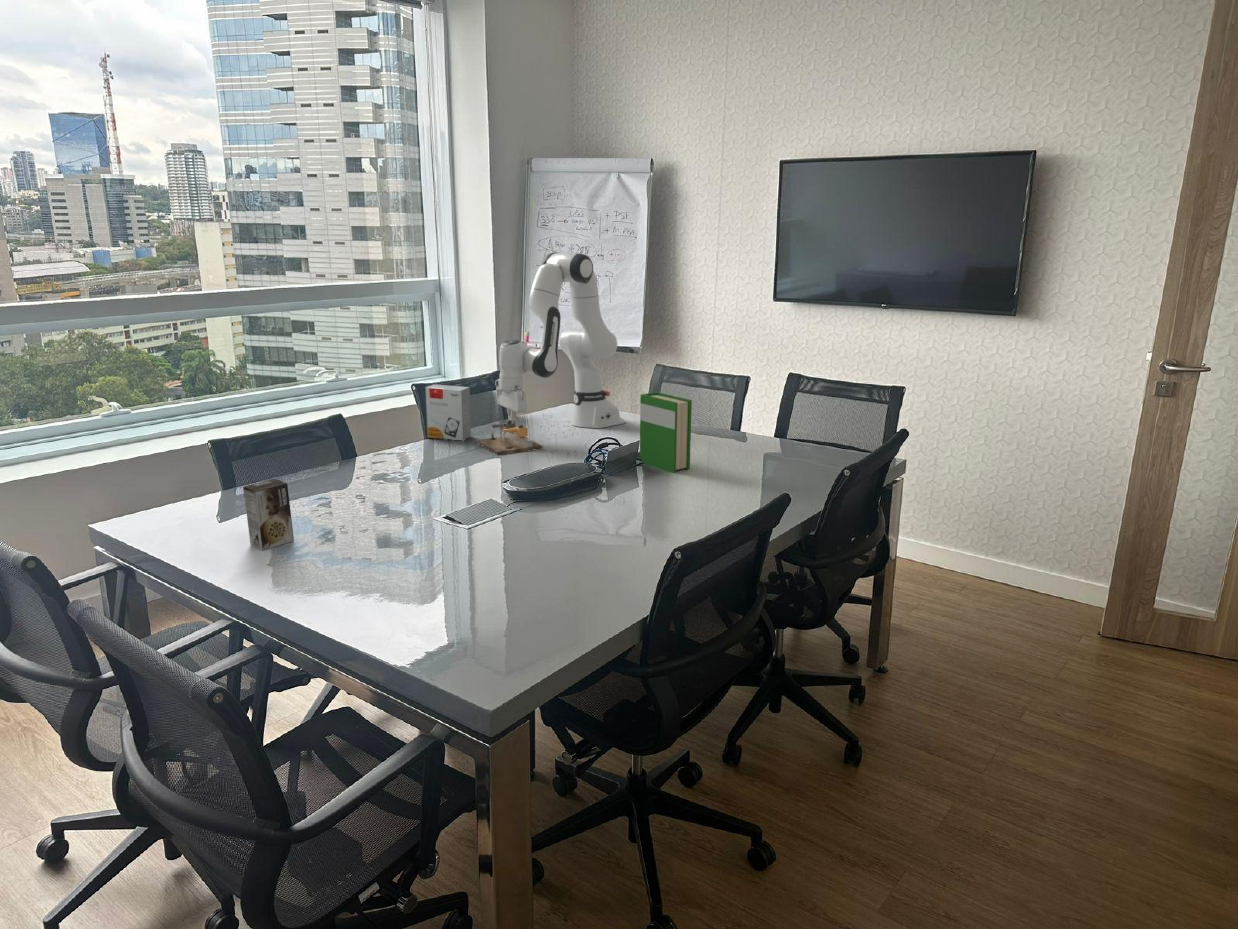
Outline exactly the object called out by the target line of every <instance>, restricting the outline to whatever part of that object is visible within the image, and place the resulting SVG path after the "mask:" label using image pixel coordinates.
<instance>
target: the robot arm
mask: <svg viewBox="0 0 1238 929" xmlns="http://www.w3.org/2000/svg"><path fill="white" fill-rule="evenodd" d="M563 283H569V285H570V287H569V288H570V289H569V290H570V291H569V292H570V302H571V313H572V316H573V318H574V319H575V320H576V321H577V322H579V324H580V325H581V326H582V328H569V329H565V330H563V332H562V333H561V335H560V331H561V330H560V329H561V321H562V320H561V313H560V312H561V311H560V310H559V302H560V297H561V293H562V292H561V291H562V285H563ZM599 297H600V296H599V288H598V281H597V276H596V273H595V271H594V264H593V262H592V259H591V258H590V257H589V256H588V255H586V254H583V253H575V252H573V251H571V252H569V251H568V252H567V251H566V252H556V251H555V252H551V253H548V254H546V255H545V257H544V259H543V260H542V262H541V264H540V266H539V267H538V268H537V271H536V273H535V275H534V279H533V281H532V284H531V288H530V292H529V298H528V306H529V308H530V311H531V312H532V313H533V314H534V315H535V316H536V317H537V318H539V319H540V320H541V322H542V325H543V332H542V340H541V347H540V349H539V348H534V347H532V346H528V345H525V344H524V343H522V342H521V340H519V339H509V340H506V341H503V342H501V344H500V347H499V354H498V355H499V356H498V361H499V362H498V364H499V368H500V370H499V371H500V372H499V378H498V379H496V380H495V381H494V384H495V385H494V386H495V387H496V389H495V391H496V394H495V395H496V402H497V404H498V405H499V406H502V407H503V408H506V413H507V417H508V418H507V420H511V422H515V421H516V420H517V417H516V416H517V414H521V413H527V409H528V404H527V394H526V392H524V390H523V389H524V374H525V373H527V374H530V375H536V376H538V377H541V378H544V379H546V378H550V377H552V375H554V374H555V372H556V371H557V369H558V365H559V360H558V358H559V357H558V349H559V348H558V347H560V349H561V350H562V351H563V353H564V354H565V355H566V356H567V357H568V359H569V361H570V363H571V366H572V369H573V375H574V391H573V403H574V405H573V406H574V408H573V414H572V420H571V422H570V424H571V425H572V426H574V427H578V428H592V429H602V428H608V427H612V426H618V425H623V424H625V423H626V420H625V419H624V418H622V417H620V410H619V408H618V407H617V406H616V405H615V404H614V403H612V402H611V401H610V400H608V399H607V398H606V397H610V396H611V391H608V390H604V389H603V388H602V387H603V386H602V385H603V380H602V379H603V373H602V370H601V368H599V367H598V366H597V365H595V363H594V361H593V359H592V358H597V359H603V358H604V359H605V358H611V357H613V356H614V355H615V354H616V352H617V349H618V340H617V337H616V336H615V334H613V332H611V330H609V328H608V327H607V325H606V324H605V322H604V320H603V317H602V314H601V309H600V308H601V307H600V298H599Z"/></svg>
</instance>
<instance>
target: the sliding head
mask: <svg viewBox="0 0 1238 929" xmlns="http://www.w3.org/2000/svg"><path fill="white" fill-rule="evenodd" d="M528 431H529V430H528V427H526V426H524V425H523V424H518V426H516V427H514V428H511V429H502V433H501V434H502V435H501V437H502V443H505V438H504V436H505V434H506V433H507V432H514V435H515V436H516V437H523V436H525V437H528V436H529V434H528Z"/></svg>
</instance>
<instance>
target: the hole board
mask: <svg viewBox="0 0 1238 929" xmlns="http://www.w3.org/2000/svg"><path fill="white" fill-rule="evenodd" d="M504 438H505V443H502V436H498V437H497V436H496V437H494V438H493V439H492V437H488V438H480V439H475V441H476V444H477V443H479V444H480V445H479V444H478V445H479V446H481V445H483V446H484V447H485V448H484V447H483V446H482V447H483V448H484V449H486V448H487V449H486V450H488V449H489V450H490V451H489V450H488V451H489V452H491V451H492V452H491V453H493V452H494V453H495V454H494V453H493V454H494V455H496V454H497V455H496V456H500V455H499V454H501V455H506V454H505V453H508V454H512V453H511V452H515V453H522V451H523V452H527V451H528V450H530V451H534V450H533V449H537V450H543V445H542V444H540V443H538V442H536V441H534V440H532V447H525V446H523V445H521V444H519V443H517V442H515V441H513V440H512V439H510V438H508V437H506V435H504Z"/></svg>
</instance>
